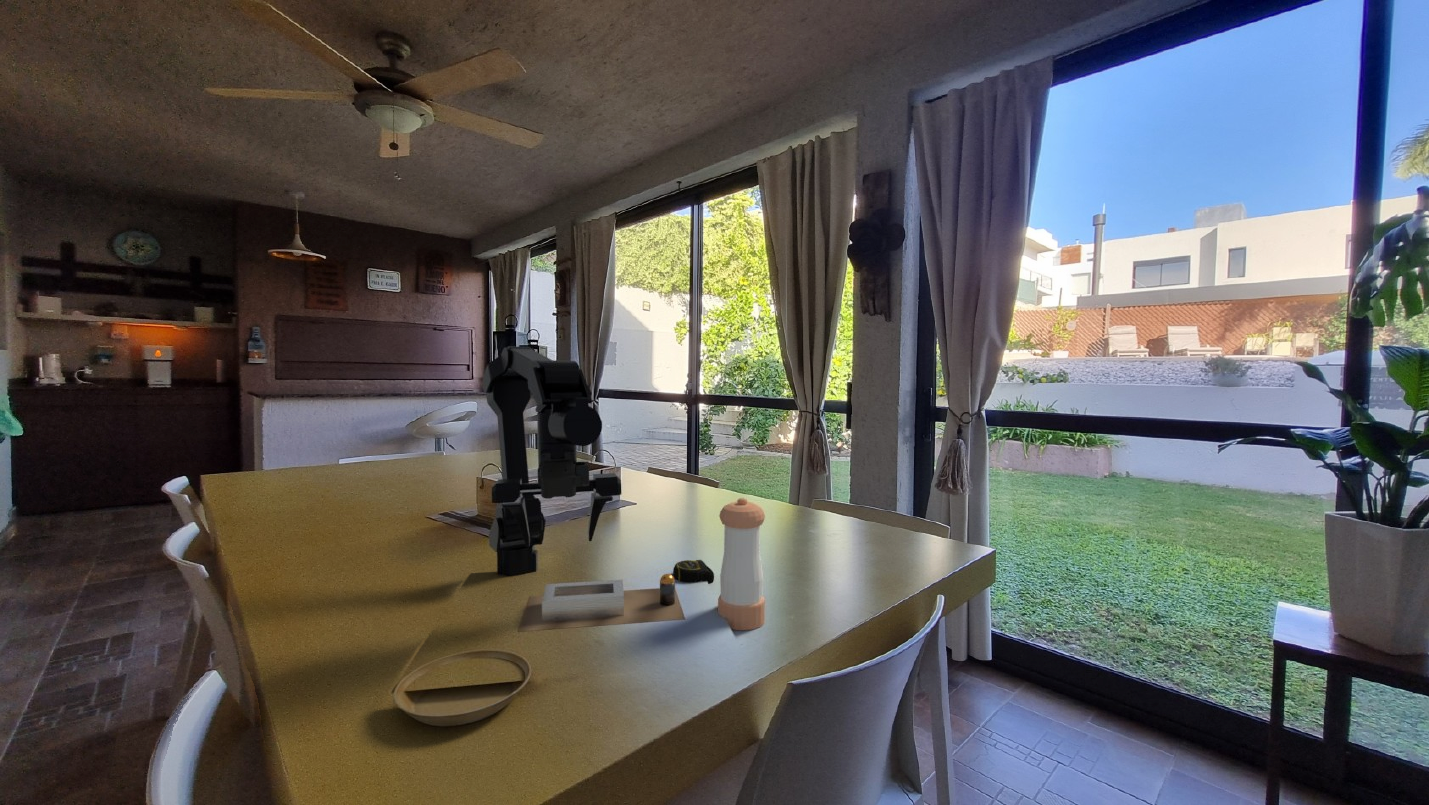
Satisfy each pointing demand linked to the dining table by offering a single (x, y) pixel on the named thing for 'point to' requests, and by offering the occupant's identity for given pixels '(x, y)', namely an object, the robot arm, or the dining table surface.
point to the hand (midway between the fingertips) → (559, 543)
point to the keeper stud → (667, 590)
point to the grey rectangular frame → (583, 600)
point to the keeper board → (636, 610)
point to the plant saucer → (459, 693)
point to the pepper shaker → (742, 566)
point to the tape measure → (693, 572)
